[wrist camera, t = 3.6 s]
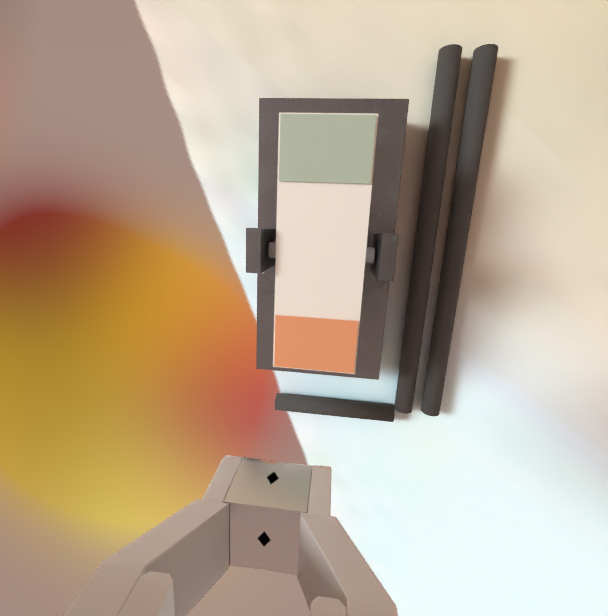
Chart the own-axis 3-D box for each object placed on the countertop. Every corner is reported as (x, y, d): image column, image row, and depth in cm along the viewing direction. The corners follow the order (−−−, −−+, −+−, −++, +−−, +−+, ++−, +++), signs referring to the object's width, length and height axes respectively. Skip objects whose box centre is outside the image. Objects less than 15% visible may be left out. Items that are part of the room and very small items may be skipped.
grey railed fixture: (492, 55, 21) (502, 43, 20) (434, 420, 28) (439, 430, 26) (287, 57, 23) (284, 46, 21) (277, 404, 29) (274, 412, 28)
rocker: (275, 122, 18) (268, 111, 16) (384, 124, 17) (389, 112, 16) (270, 356, 21) (264, 366, 20) (361, 364, 21) (363, 375, 19)
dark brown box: (272, 119, 24) (236, 60, 15) (397, 121, 23) (429, 59, 15) (268, 349, 28) (237, 398, 20) (373, 358, 27) (387, 413, 19)
